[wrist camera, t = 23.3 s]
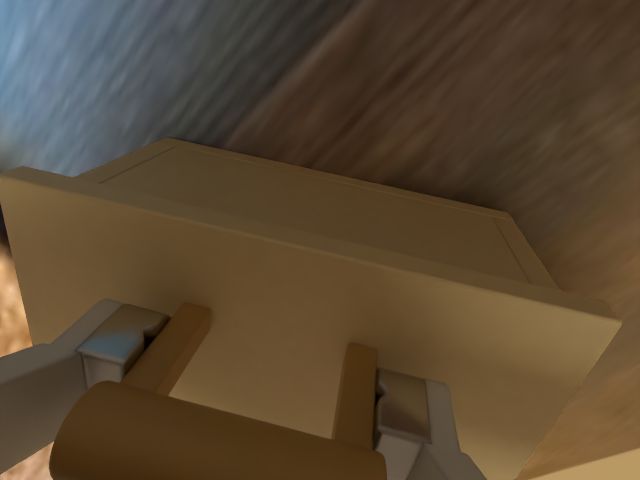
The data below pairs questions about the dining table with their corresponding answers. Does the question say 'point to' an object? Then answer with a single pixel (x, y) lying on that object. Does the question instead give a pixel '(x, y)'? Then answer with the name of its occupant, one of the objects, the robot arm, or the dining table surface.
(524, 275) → the chest
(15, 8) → the dining table surface
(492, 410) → the lid
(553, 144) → the dining table surface
